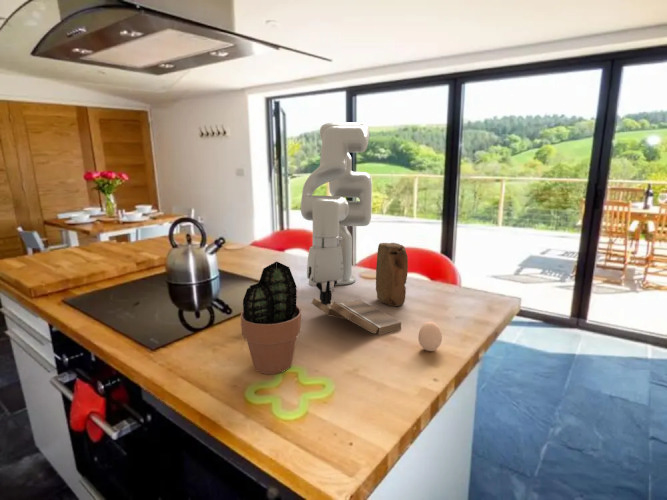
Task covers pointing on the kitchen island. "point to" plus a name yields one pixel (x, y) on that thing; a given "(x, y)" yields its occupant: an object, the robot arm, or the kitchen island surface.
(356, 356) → the kitchen island surface
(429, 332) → the egg
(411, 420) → the kitchen island surface
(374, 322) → the laid board
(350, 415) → the kitchen island surface
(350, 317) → the plank
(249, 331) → the potted plant
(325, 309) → the plank
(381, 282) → the block
